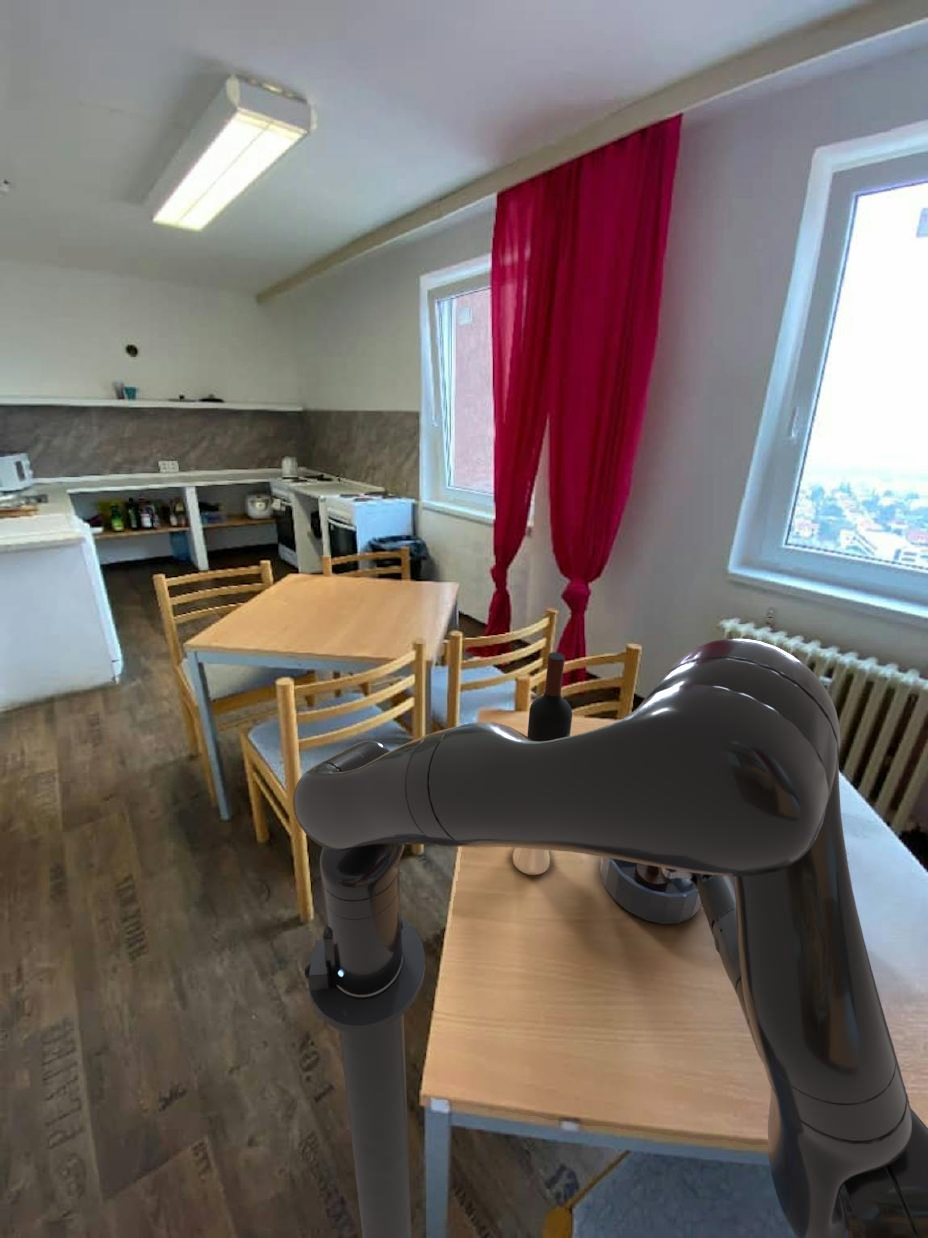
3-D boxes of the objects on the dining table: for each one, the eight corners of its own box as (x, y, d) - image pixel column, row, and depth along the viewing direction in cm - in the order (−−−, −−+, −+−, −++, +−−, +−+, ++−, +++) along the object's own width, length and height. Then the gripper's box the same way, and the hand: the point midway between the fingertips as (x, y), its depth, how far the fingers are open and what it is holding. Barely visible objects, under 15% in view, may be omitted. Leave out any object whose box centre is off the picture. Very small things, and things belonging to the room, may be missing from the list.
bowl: (618, 929, 75) (624, 899, 72) (588, 845, 88) (592, 818, 86) (720, 924, 76) (729, 894, 73) (674, 842, 90) (681, 815, 87)
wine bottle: (541, 777, 104) (555, 642, 93) (570, 798, 99) (588, 658, 87) (514, 792, 100) (524, 653, 88) (542, 816, 95) (558, 670, 83)
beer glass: (515, 839, 89) (521, 768, 84) (555, 850, 87) (564, 779, 82) (505, 870, 83) (510, 797, 78) (547, 883, 81) (556, 808, 76)
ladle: (641, 894, 79) (659, 813, 73) (629, 867, 84) (645, 788, 78) (673, 893, 80) (693, 812, 73) (659, 866, 84) (677, 787, 78)
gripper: (853, 917, 45) (772, 789, 60) (685, 898, 47) (646, 777, 61) (827, 973, 48) (756, 838, 63) (670, 954, 49) (636, 826, 64)
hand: (702, 808), depth 62 cm, fingers open, 8 cm apart
